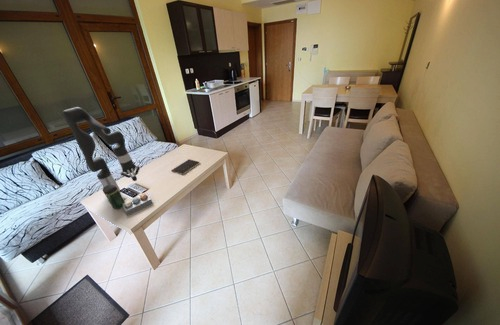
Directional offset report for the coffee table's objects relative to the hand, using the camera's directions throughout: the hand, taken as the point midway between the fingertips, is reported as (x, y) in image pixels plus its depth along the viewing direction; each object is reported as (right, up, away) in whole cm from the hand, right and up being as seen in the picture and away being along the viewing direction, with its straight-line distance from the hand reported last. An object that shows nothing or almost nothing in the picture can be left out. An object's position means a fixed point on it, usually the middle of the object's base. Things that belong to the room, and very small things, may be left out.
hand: (135, 180), depth 140 cm
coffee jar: (-18, -21, +10) cm, 29 cm away
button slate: (-2, -18, +6) cm, 19 cm away
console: (-2, -20, +8) cm, 22 cm away
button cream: (-6, -20, +3) cm, 21 cm away
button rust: (+2, -16, +9) cm, 18 cm away
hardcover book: (+20, +8, +52) cm, 56 cm away
